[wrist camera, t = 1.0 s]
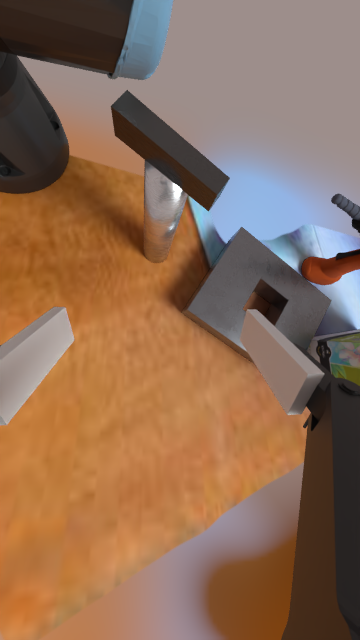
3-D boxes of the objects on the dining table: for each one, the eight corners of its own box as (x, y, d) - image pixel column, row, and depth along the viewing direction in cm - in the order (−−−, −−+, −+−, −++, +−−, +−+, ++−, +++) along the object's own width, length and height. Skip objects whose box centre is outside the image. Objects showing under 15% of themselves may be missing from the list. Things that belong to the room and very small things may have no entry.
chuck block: (181, 312, 29) (187, 309, 25) (229, 239, 32) (241, 226, 28) (272, 376, 32) (291, 382, 28) (310, 304, 35) (331, 300, 31)
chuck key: (125, 243, 28) (100, 116, 12) (139, 224, 29) (136, 80, 12) (172, 277, 29) (209, 205, 13) (185, 258, 30) (236, 168, 14)
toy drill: (257, 232, 32) (371, 153, 17) (328, 267, 37) (457, 231, 23) (253, 257, 31) (366, 198, 17) (325, 289, 37) (456, 266, 23)
